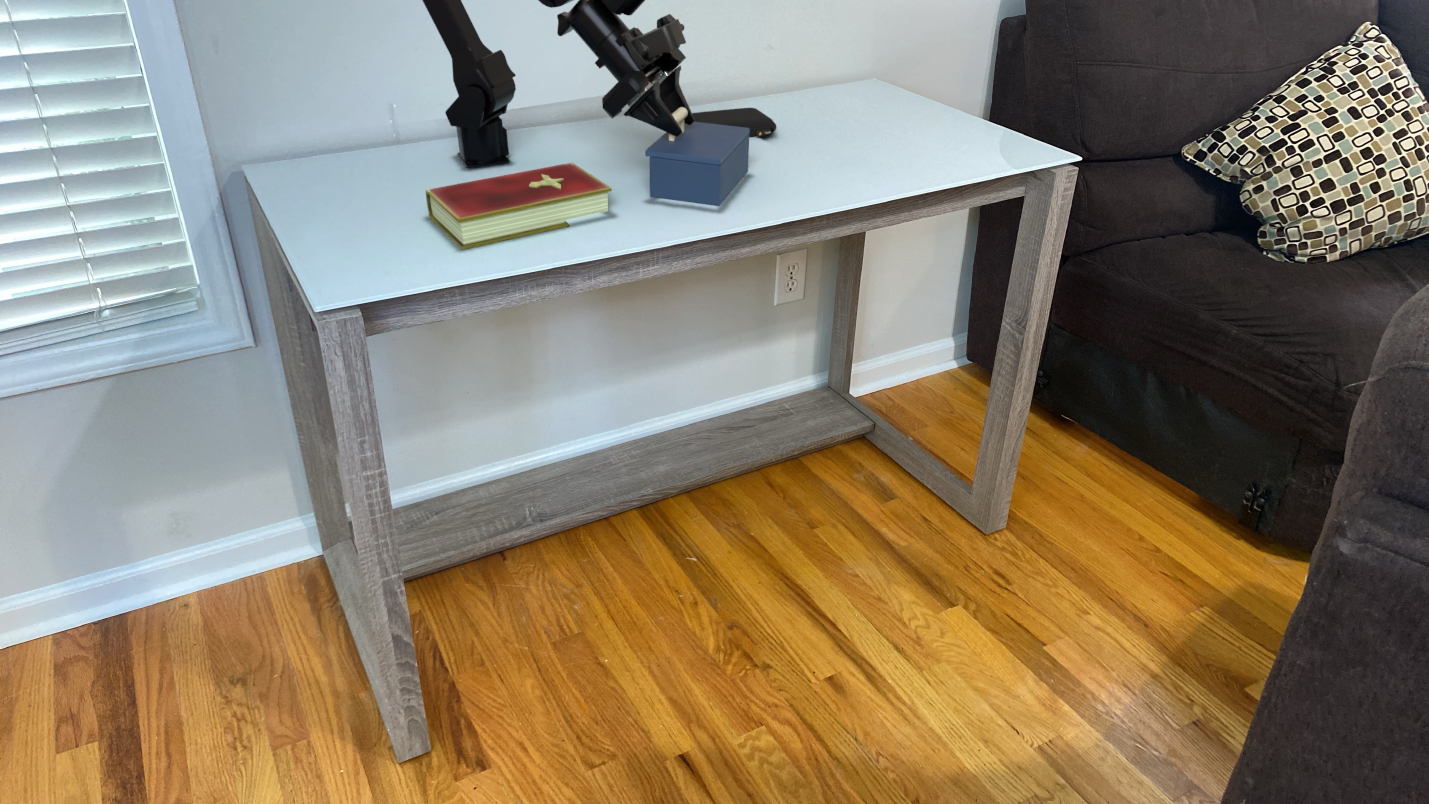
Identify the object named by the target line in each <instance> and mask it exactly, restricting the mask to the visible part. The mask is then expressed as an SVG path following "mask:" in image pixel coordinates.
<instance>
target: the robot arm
mask: <svg viewBox="0 0 1429 804" xmlns="http://www.w3.org/2000/svg"><path fill="white" fill-rule="evenodd" d="M421 1H422V3H423V5H424V7H425V9H426V10H427V12H428V14H429V16H430V18H431V20H432V22H433V24H434V26H435V28H436V30H437V32H438V34H439V35H440V38H441V40H442V41H443V44H444V46H445V48H446V49H447V51H448V53H449V55H450V59H451V66H452V67H451V68H452V81H453V84H454V87H455V90H456V92H457V98H456V99H455V100H454V101H453V102H452V103H451V104H450V106H449V107H448V108H447V109H446V110H445V113H444V114H445V115H446V118H447V121H448V123H449V125H450V126H451V127H456V135H457V142H458V151H459V152H457V153H456V156H457V158H458V159H459V160H460V162H461V163H462V164H463V165H464V167H465V168H466V169H476V168H483V167H490V166H497V165H498V166H499V165H506V164H509V163H510V158H509V157H508V156H509V155H510V149H509V140H508V139H509V138H508V129H507V128H506V127H505V126H504V125H503V119H502V118H501V117H500V116H502V115H505V114H506V113H507V109H508V105H509V104H510V103H511V102H512V101H513V99H514V97H515V93H516V90H517V88H516V83H515V80H514V78H515V77H516V73H515V72H514V71H513V70H512V69H511V67H510V66H509V64H508V61H507V58H506V55H505V53H504V51H503V50H502V49H499V50H497V51H495V52H493V51H492V50H491V49H490V48H489V47H487V46H486V45H485V44H484V43H483V41H482V40H481V37H480V36H479V34H478V32H477V30H476V28H475V26H474V24H473V21H472V19H471V17H470V15H469V13H468V11H467V10H466V8H465V5H464V4H463V2H462V0H421ZM537 1H538V2H539V3H541V5H543V6H545V7H547V8H551V9H552V8H553V9H554V8H559V7H562V6H564V5H567V4H569V3H572V2H574V1H575V0H537ZM645 2H646V0H578V1H576V3H575V4H574V5H573V6H572V8H570V10H569V11H568V12H567V11H563V12H560V13H558V14H557V16H556V18H557V36H559V37H563V36H565V35H567V34H568V33H571V32H572V31H574V32H575V33H576V34H577V35H578V37H579V38H580V39H581V40H582V41H583V43H584V44H585V45H586V47H588V48H589V50H590V51H591V52H592V53H593V54H594V56H595V57H597V60H596V61H595V62H594V65H595V66H597V68H598V69H599V70H600V69H602V68H603V67H605V68H606V69H607V70H608V71H609V73H610V74H611V75H612V77H614V78H615V80H616V81H617V82H616V83H615V84H614V86H613V87H611V88H610V90H608V92H606V94H605V95H604V96H603V97H602V98H601V103H602V105H601V106H602V109H603V110H604V112H605V113H606V114H607V115H608V116H609V117H610V118H611V120H612V119H614V118H616V117H617V116H618V115H620V114H621V113H622V111H623V109H624V108H626V106H628V109H626V111H625V112H624V113H623V116H624V117H626V118H627V117H630V118H632V119H635V120H638V121H641V122H643V123H645V124H648V125H650V126H652V127H654V128H656V129H659V130H660V131H663V132H664V133H666V132H667V133H669V134H672V135H674V136H676V137H677V136H679V135H680V134H681V133H682V130H681V128H680V126H679V125H678V123H677V121H676V120H675V119H674V117H673V116H672V113H674V112H675V111H676V110H677V109H678V108H680V107H684V108H686V109H687V111H688V115H687V117H686V118H685V119H684V123H686V124H688V125H691V124H692V123H693V122H694V121H695V119H694V117H693V115H692V113H693V112H692V110H691V108H690V106H689V103H688V102H687V99H686V97H685V94H684V93H683V90H682V87H681V85H680V77H681V70H682V65H681V64H682V63H683V62H684V61H685V60H686V58H687V57H686V55H685V54H684V53H683V51H682V50H681V49H680V47H681V45H685V44H686V43H687V40H686V38H685V35H684V31H685V25H684V24H683V23H681V22H680V20H679V18H675V17H674V16H673V15H672V14H671V13H668V14H666V15H664V16H661V17H659V18H658V19H656V28H653V29H652V30H650V31H647V32H645V33H643V32H642V31H641V30H640V28H638V27H634V26H633V27H632V28H629V27H628V26H627V25H626V24H625V22H624V21H623V20H622V19H621V18H620V17H619V16H621V15H624V16H628V17H629V16H632V15H633V14H635V12H636V11H637V10H638V9H639V8H640V7H641V6H642V5H643V4H644V3H645Z"/></svg>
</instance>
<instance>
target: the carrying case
mask: <svg viewBox="0 0 1429 804" xmlns="http://www.w3.org/2000/svg"><path fill="white" fill-rule="evenodd" d="M692 115H693V117H694V119H695V121H694V122H701V123H710V124H719V125H728V126H736V127H745V128H749V129H750V130H749V138H750V137H757V138H759V139H763V138H768V137H770V136H772V135H773V134H774V133H775V131H776V130H777V124H776V123H775V122H774V120H773V119H772V118H771V117H770V116H768V115H766V114H765V113H763V112H762V111H761V110H759V109H758V108H755V107H741V108H740V107H739V108H729V109H718V110H709V111H698V112H692Z"/></svg>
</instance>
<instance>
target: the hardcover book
mask: <svg viewBox="0 0 1429 804" xmlns="http://www.w3.org/2000/svg"><path fill="white" fill-rule="evenodd" d="M609 192H612V187H610V186H609V185H607V184H606V183H605V182H603V181H602V180H600V179H598V178H597V177H595V176H594V175H592V174H590V173H589V172H588V171H586V170H585V169H583V168H582V167H580V166H578V165H577V164H576V163H574V162H568V163H562V164H556V165H551V166H546V167H542V168H535V169H530V170H524V171H519V172H513V173H508V174H504V175H498V176H493V177H487V178H482V179H476V180H472V181H465V182H461V183H456V184H449V185H444V186H439V187H434V188H428V189H426V190H425V199H426V200H425V201H426V206H427V212H428V217H429V219H430V220H431V221H432V222H433V223H434V224H435V225H436V226H437V227H438V228H439V229H440V230H441V231H443V232H444V233H445V234H446V236H447V237H449V238H450V240H452V241H453V242H454V243H455V244H456V246H458V247H459V248H460V249H461V250H466V249H471V248H475V247H480V246H485V245H490V244H494V243H499V242H503V241H507V240H511V239H517V238H520V237H521V238H522V237H526V236H530V235H535V234H538V233H544V232H548V231H554V230H557V229H562V228H566V227H570V226H571V225H570V224H569V222H567V221H568V220H572V219H577V218H581V217H587V216H591V215H595V214H600V213H601V214H602V213H605V212H609Z"/></svg>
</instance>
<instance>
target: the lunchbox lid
mask: <svg viewBox="0 0 1429 804" xmlns="http://www.w3.org/2000/svg"><path fill="white" fill-rule="evenodd" d="M687 115H688V111H687V109H686V108H684V107H680V108H678V109H677V110H676V111H675V112H674V113H672V116H673V117H674V119H675V120H676V121H677V123H678V125H679V126H680V128H681V130H682V133H681V134H680V135H679V136H677V137H676V136H674V135H672V134H669V133H667V132H664V133H663V135H661V136H660V137H659V138H658V139H656V141H654V142H653V143H652V144H651V145H650V146H649V147H648V148H646V149H645V151H644V155H645V157H658V158H666V159H674V160H682V161H690V162H698V163H706V164H714V165H721V164H722V162H723V161H724V160H725V159H726V158H727V157H728V156H729V155H730V154H731V153H732V152H733V150H734V149H735V148H736V147H737V146H738V145H739V144H740V143H741V142H742V141H743V139H744V138H745V137H746V136H747V135H748V134H749V130H750V129H749V128H745V127H736V126H728V125H719V124H710V123H701V122H693V123H692V124H691V125H688V124H686V123H684V119H685V118H686V117H687Z"/></svg>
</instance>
